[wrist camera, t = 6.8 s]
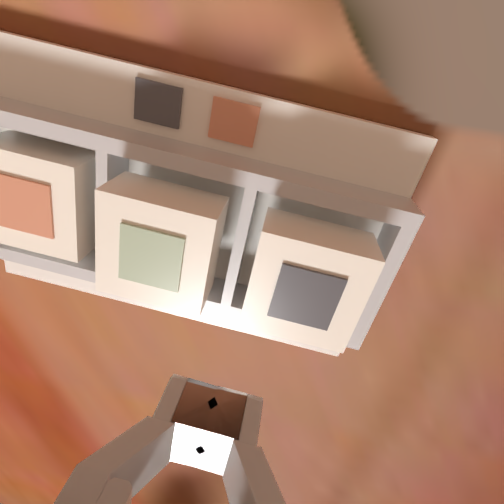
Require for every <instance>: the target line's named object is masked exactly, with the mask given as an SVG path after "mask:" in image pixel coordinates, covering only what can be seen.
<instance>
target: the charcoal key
mask: <svg viewBox="0 0 504 504" xmlns="http://www.w3.org/2000/svg"><path fill="white" fill-rule="evenodd" d="M385 263H386V262H385V260H384V257H383V255H382V252H381V250H380V247H379V245H378V243H377V240H376V238H375V235H374V233H371V232H367V231H363V230H359V229H355V228H351V227H347V226H343V225H339V224H335V223H331V222H327V221H323V220H319V219H315V218H311V217H307V216H303V215H299V214H295V213H291V212H287V211H283V210H279V209H275V208H271V207H268V209H267V213H266V217H265V221H264V224H263V228H262V232H261V236H260V240H259V244H258V248H257V252H256V256H255V260H254V264H253V268H252V272H251V276H250V280H249V284H248V288H247V292H246V296H245V300H244V304H243V308H242V312H241V316H240V320H239V324H238V327H242V328H246V329H250V330H254V331H257V332H261V333H265V334H269V335H273V336H277V337H281V338H285V339H289V340H293V341H297V342H301V343H304V344H308V345H312V346H316V347H320V348H324V349H328V350H332V351H336V352H340V353H344V351H345V348H346V346H347V344H348V342H349V340H350V338H351V336H352V333H353V331H354V329H355V327H356V325H357V323H358V321H359V318H360V316H361V314H362V312H363V310H364V308H365V306H366V304H367V301H368V299H369V297H370V295H371V293H372V291H373V289H374V286H375V284H376V282H377V280H378V278H379V276H380V274H381V272H382V269H383V267H384V265H385Z"/></svg>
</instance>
